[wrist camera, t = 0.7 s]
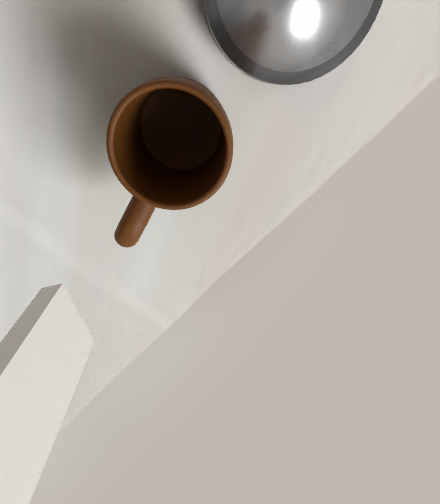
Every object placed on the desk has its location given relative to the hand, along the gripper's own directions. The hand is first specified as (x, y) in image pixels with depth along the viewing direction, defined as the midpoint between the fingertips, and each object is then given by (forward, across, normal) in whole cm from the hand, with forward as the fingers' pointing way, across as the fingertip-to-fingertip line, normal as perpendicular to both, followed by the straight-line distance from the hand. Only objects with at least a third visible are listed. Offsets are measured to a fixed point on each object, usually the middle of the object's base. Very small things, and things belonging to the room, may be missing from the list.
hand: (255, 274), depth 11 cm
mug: (+20, -4, +1) cm, 20 cm away
